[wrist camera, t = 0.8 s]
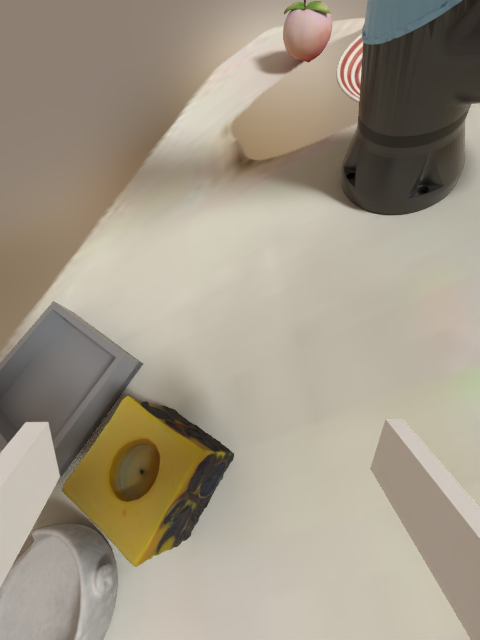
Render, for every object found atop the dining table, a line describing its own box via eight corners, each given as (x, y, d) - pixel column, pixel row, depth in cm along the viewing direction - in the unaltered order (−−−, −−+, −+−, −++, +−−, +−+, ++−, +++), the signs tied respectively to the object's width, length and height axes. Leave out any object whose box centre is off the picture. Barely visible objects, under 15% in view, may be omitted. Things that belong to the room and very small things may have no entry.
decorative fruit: (279, 77, 62) (271, 14, 53) (293, 53, 64) (287, -11, 56) (324, 74, 58) (322, 5, 49) (337, 48, 61) (338, -21, 52)
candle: (124, 483, 35) (56, 490, 27) (172, 407, 38) (123, 390, 29) (188, 544, 31) (131, 575, 22) (237, 453, 33) (203, 449, 25)
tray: (73, 312, 50) (53, 301, 46) (143, 363, 42) (125, 354, 38) (-5, 406, 46) (-33, 402, 42) (55, 483, 38) (27, 485, 34)
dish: (-10, 627, 33) (-62, 652, 29) (61, 496, 37) (25, 500, 33) (76, 733, 27) (28, 784, 23) (149, 563, 31) (119, 579, 27)
